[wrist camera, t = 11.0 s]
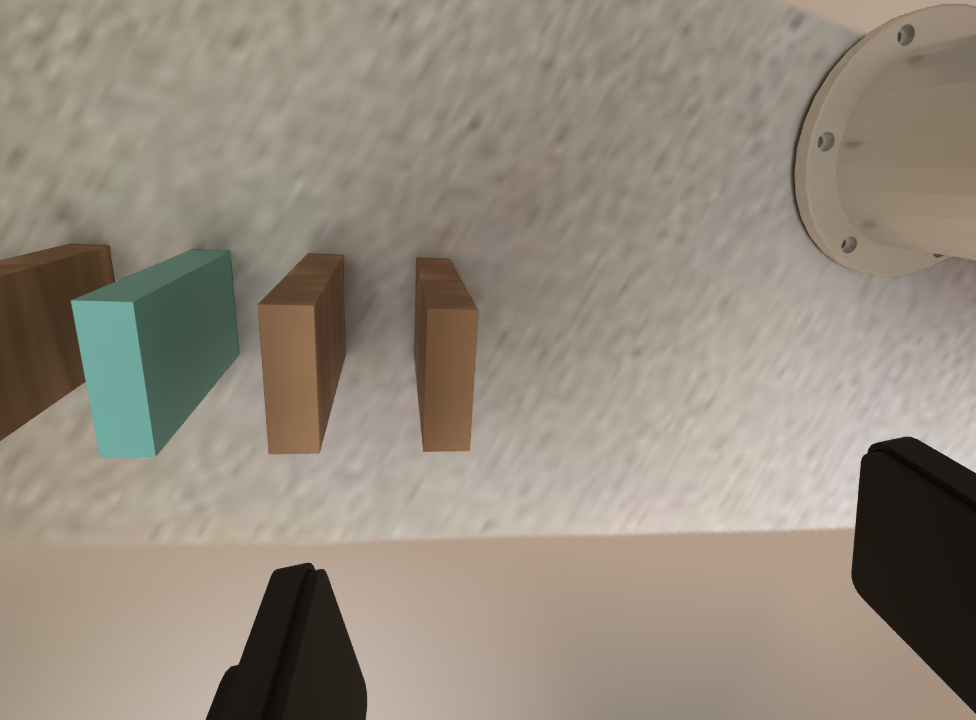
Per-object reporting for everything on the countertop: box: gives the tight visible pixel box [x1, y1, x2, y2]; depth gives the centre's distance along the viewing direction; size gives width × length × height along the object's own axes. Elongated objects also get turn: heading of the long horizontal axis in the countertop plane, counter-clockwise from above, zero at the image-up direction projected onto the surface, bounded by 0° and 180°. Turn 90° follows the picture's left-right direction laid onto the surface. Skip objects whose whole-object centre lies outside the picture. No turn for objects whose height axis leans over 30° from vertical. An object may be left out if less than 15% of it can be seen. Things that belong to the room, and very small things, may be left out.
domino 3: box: [258, 254, 345, 454], centre depth 22 cm, size 2×5×10 cm, turn 175°
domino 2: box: [71, 249, 239, 458], centre depth 21 cm, size 2×5×10 cm, turn 176°
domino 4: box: [414, 258, 478, 452], centre depth 23 cm, size 2×5×10 cm, turn 176°
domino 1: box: [0, 244, 115, 441], centre depth 20 cm, size 2×5×10 cm, turn 176°
